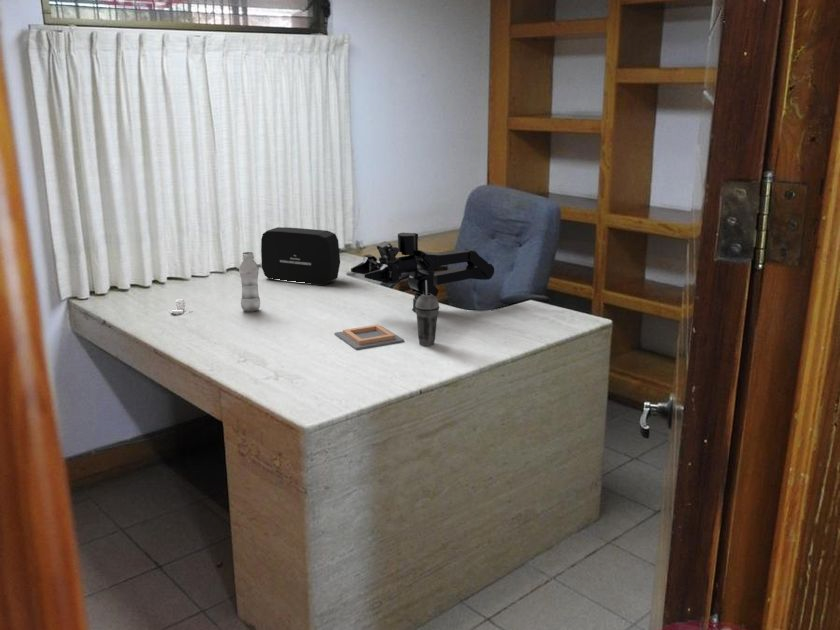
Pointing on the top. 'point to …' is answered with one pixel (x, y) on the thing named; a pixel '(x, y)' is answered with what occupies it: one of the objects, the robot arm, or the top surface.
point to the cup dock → (368, 337)
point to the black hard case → (300, 255)
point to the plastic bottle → (249, 283)
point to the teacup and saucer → (179, 306)
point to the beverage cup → (426, 318)
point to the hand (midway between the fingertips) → (357, 273)
